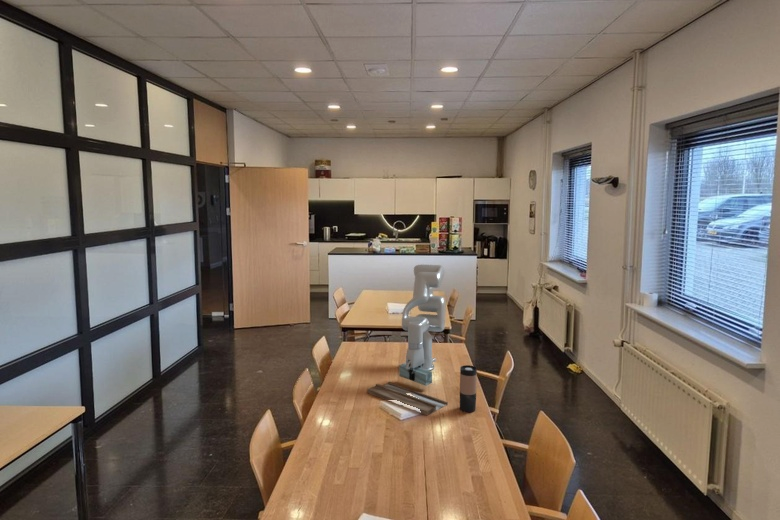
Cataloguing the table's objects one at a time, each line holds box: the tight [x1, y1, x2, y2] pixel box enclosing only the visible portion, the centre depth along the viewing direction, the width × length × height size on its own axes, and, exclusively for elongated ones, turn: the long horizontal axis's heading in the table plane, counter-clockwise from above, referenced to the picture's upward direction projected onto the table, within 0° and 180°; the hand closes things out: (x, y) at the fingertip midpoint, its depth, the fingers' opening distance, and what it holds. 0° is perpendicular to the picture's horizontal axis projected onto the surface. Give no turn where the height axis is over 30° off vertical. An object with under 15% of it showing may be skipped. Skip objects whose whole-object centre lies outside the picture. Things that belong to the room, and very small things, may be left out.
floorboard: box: [366, 381, 448, 416], centre depth 234 cm, size 16×38×3 cm, turn 47°
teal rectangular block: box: [398, 362, 433, 387], centre depth 249 cm, size 5×18×6 cm, turn 48°
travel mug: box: [459, 364, 478, 414], centre depth 221 cm, size 8×8×20 cm
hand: (415, 377), depth 250 cm, fingers closed on teal rectangular block, 5 cm apart
